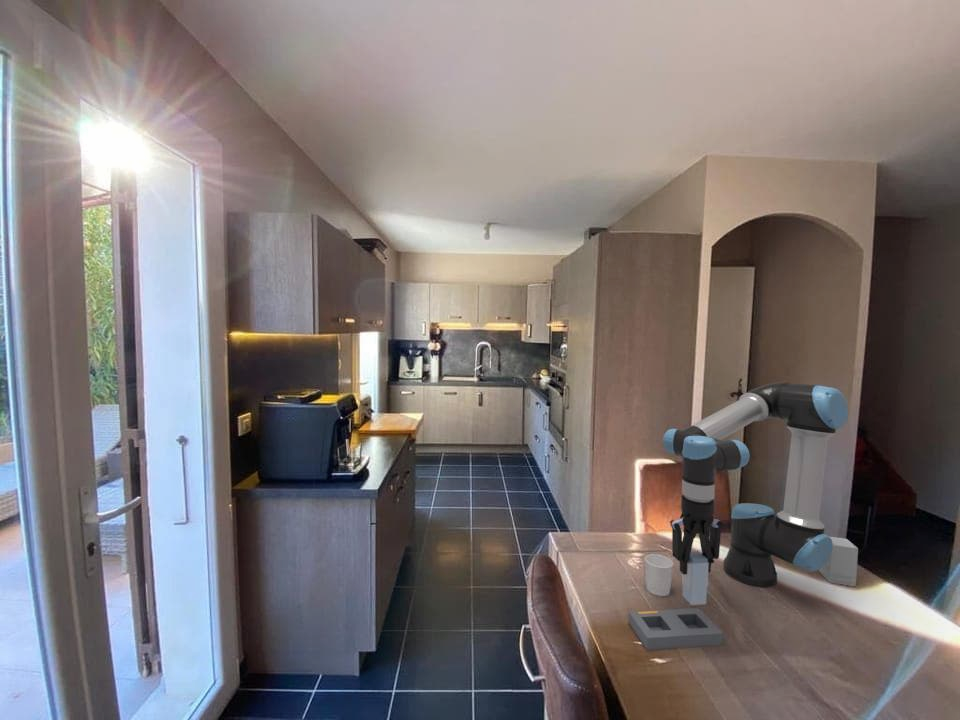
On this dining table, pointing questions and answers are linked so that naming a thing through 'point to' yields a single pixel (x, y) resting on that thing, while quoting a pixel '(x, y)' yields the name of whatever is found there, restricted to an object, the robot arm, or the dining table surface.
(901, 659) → the dining table surface
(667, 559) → the white cup
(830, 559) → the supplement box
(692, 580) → the plug
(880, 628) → the dining table surface
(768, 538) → the robot arm
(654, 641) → the panel
